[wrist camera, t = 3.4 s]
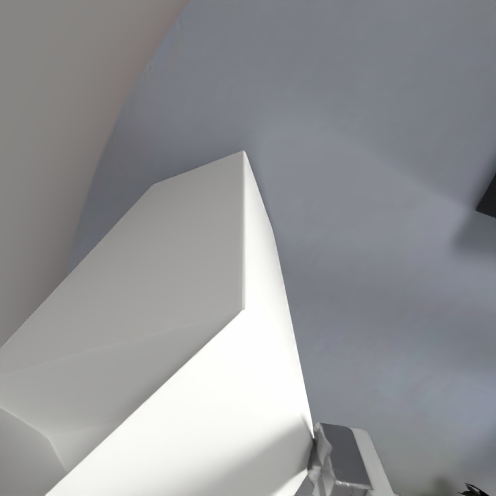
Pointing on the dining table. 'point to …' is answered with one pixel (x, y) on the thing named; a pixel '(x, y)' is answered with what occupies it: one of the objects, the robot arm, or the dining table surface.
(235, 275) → the milk carton
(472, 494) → the plant
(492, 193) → the scale
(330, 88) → the dining table surface
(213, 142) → the dining table surface
